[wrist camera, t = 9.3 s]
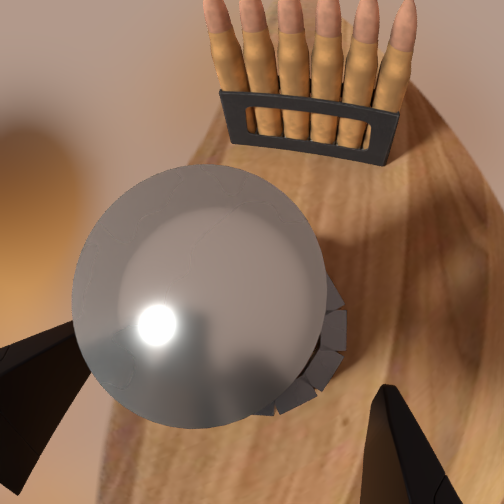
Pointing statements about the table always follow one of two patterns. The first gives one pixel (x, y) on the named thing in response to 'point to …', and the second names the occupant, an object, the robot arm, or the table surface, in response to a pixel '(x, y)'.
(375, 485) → the robot arm
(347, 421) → the table surface
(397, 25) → the ammunition clip
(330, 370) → the ring
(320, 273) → the silver tall cylinder
